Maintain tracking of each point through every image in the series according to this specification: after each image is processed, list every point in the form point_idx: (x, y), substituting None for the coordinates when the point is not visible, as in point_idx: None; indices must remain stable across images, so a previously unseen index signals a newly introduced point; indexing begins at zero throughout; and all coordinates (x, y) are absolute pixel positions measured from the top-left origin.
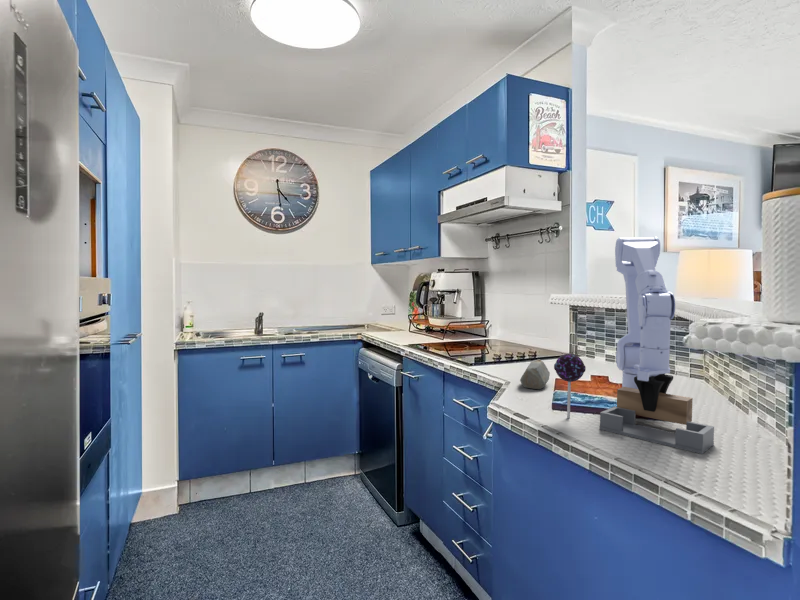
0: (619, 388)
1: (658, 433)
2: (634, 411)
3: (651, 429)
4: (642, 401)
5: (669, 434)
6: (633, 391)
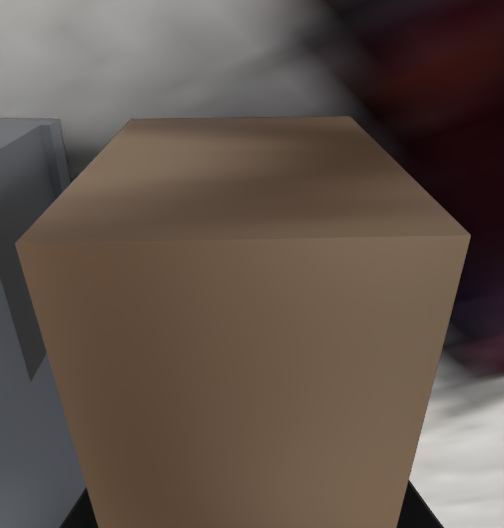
0: (171, 240)
1: (17, 445)
2: (2, 380)
3: (57, 402)
4: (81, 495)
5: (59, 479)
6: (136, 483)
